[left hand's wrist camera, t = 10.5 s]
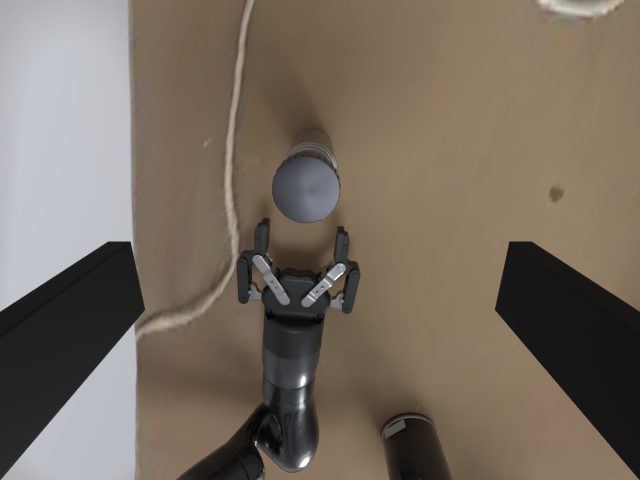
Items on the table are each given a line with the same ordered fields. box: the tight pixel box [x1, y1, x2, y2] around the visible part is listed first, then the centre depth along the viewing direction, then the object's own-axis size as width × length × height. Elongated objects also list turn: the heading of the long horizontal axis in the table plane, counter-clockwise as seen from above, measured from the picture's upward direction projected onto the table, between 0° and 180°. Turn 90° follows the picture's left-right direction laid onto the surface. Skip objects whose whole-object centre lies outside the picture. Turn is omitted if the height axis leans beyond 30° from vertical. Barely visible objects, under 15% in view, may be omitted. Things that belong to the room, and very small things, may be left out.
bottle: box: [283, 129, 338, 173], centre depth 32 cm, size 4×4×22 cm
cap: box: [272, 151, 341, 223], centre depth 23 cm, size 4×4×2 cm
